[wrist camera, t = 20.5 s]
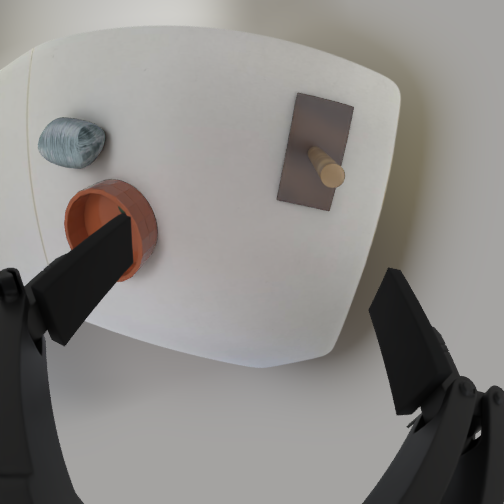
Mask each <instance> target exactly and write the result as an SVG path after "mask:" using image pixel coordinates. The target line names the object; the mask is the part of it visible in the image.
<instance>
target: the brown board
mask: <svg viewBox="0 0 504 504" xmlns="http://www.w3.org/2000/svg"><path fill="white" fill-rule="evenodd" d="M353 110H354V107H352V106H349V105H346V104H342V103H339V102H335V101H331V100H327V99H323V98H319V97H315V96H310V95H306V94H301V93H297V97H296V102H295V107H294V113H293V118H292V123H291V129H290V134H289V139H288V144H287V149H286V155H285V160H284V165H283V170H282V175H281V180H280V185H279V190H278V195H277V200H280V201H285V202H290V203H294V204H299V205H304V206H308V207H313V208H317V209H322V210H326V211H329V210H330V207H331V203H332V199H333V196H334V192H335V188H330V187H327V186H325V185H324V184H323V182H322V181H321V179H320V177H319V175H318V173H317V172H316V170H315V168H314V166H313V164H312V163H311V161H310V159H309V157H308V150H309V149H310V148H311V147H314V146H317V147H319V148H321V149H322V150H323V151H324V152H325V153H326V154H327V155H329V156H330V157H331V158H332V159H333V160H334V161H335V162H336V163H337V164H339V165H340V166H341V164H342V160H343V156H344V151H345V147H346V143H347V138H348V134H349V129H350V124H351V119H352V115H353Z"/></svg>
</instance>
